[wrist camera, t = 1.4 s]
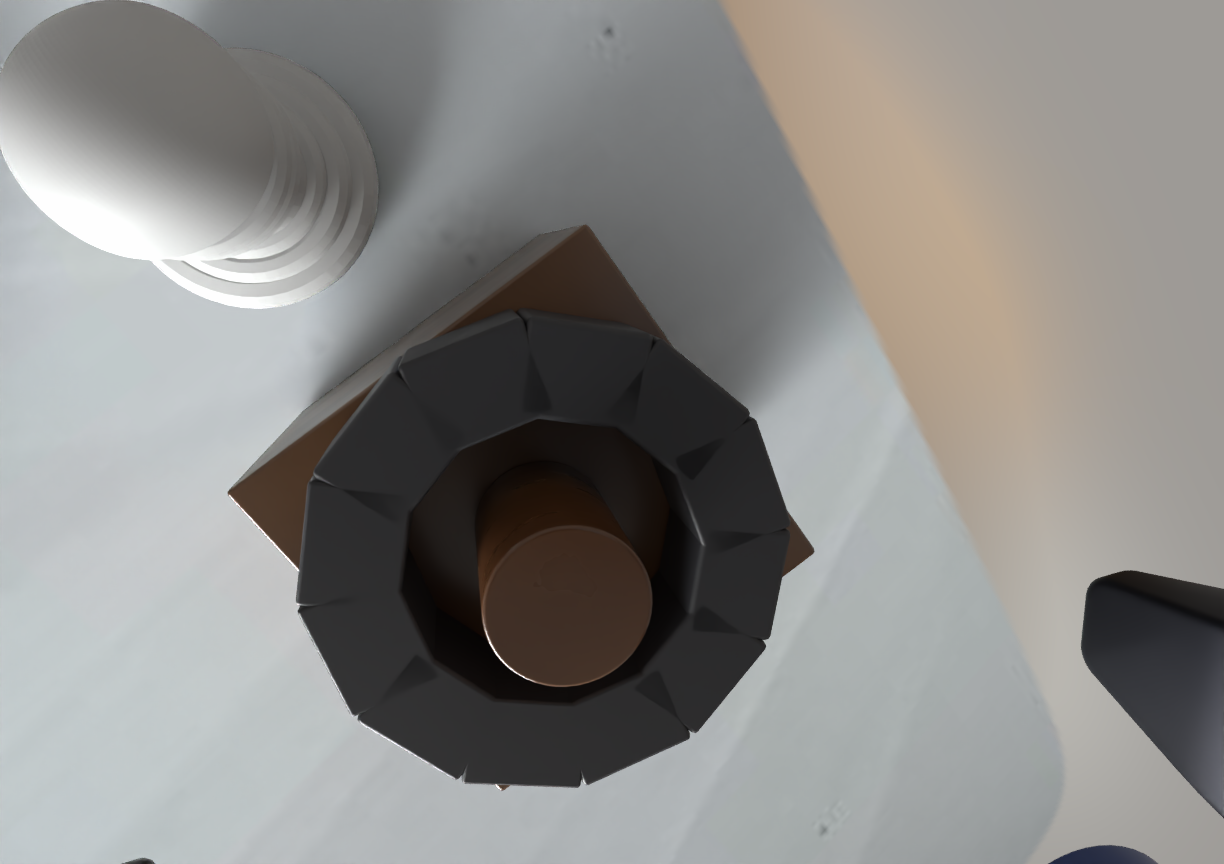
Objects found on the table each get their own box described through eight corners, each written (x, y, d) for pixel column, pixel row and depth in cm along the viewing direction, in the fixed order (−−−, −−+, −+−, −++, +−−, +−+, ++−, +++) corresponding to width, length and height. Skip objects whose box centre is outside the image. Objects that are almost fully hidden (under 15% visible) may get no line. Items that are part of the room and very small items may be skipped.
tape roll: (824, 552, 15) (877, 596, 13) (500, 800, 15) (507, 880, 13) (587, 213, 13) (611, 206, 12) (214, 493, 13) (174, 533, 11)
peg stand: (706, 460, 22) (920, 637, 12) (486, 627, 22) (515, 947, 12) (542, 232, 20) (631, 212, 10) (300, 413, 20) (146, 575, 10)
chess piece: (259, -1, 18) (86, -230, 10) (430, 204, 20) (413, 166, 11) (63, 161, 18) (-289, 79, 10) (250, 355, 20) (89, 436, 11)
